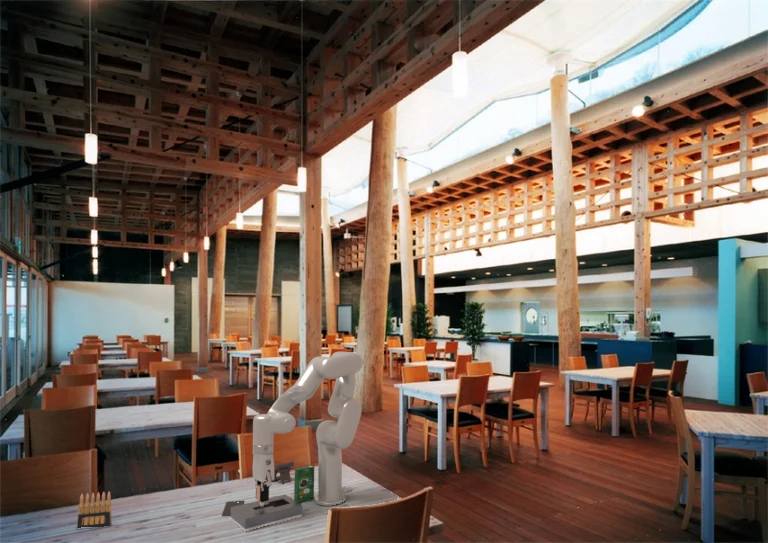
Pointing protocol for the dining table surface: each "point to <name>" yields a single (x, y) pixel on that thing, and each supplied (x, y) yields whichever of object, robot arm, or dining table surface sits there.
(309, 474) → the coffee box
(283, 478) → the portable electronic device stand
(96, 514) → the ammunition clip
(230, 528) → the dining table surface
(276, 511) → the keyhole plate
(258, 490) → the peg
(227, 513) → the smartphone
